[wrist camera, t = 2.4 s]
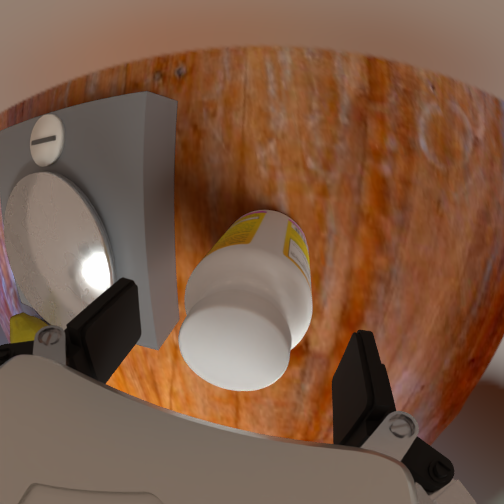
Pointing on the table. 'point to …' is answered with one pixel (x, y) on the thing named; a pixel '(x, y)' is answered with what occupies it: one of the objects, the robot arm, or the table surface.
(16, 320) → the lemon
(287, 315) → the supplement bottle
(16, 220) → the scale pan
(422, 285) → the table surface
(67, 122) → the kitchen scale
